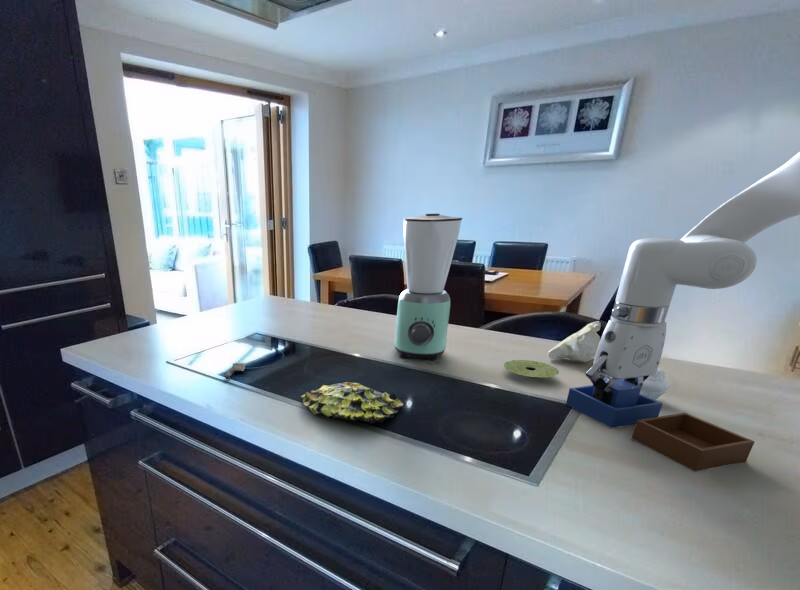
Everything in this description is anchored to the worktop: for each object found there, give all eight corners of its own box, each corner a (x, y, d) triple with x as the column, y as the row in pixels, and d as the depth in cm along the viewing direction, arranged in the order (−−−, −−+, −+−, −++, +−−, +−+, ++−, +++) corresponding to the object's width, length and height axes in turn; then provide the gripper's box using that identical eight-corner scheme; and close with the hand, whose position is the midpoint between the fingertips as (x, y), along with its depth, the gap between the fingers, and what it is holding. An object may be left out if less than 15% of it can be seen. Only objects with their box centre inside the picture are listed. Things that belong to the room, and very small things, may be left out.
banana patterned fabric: (282, 413, 88) (283, 381, 88) (328, 406, 101) (329, 377, 100) (371, 427, 76) (372, 389, 75) (411, 416, 88) (412, 384, 88)
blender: (446, 366, 108) (466, 214, 95) (391, 362, 112) (402, 215, 98) (443, 343, 125) (459, 211, 112) (395, 340, 129) (405, 212, 115)
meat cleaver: (253, 365, 112) (236, 364, 114) (253, 361, 112) (235, 359, 114) (231, 380, 102) (212, 379, 104) (231, 376, 102) (212, 374, 103)
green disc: (539, 389, 95) (541, 380, 94) (492, 373, 103) (493, 365, 103) (567, 377, 100) (569, 369, 99) (520, 363, 109) (521, 356, 108)
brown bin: (678, 430, 77) (684, 412, 76) (746, 461, 68) (755, 441, 66) (631, 438, 75) (637, 419, 74) (694, 471, 66) (702, 451, 64)
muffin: (630, 402, 88) (640, 369, 85) (622, 390, 93) (632, 359, 90) (668, 407, 85) (680, 373, 83) (658, 395, 91) (669, 363, 88)
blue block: (610, 401, 86) (616, 377, 84) (633, 412, 82) (641, 387, 80) (588, 404, 85) (595, 380, 83) (611, 415, 81) (619, 390, 79)
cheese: (569, 378, 105) (633, 340, 100) (550, 353, 106) (611, 314, 101) (554, 374, 119) (609, 341, 115) (537, 353, 120) (590, 319, 116)
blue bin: (607, 398, 90) (612, 382, 88) (656, 421, 80) (662, 403, 79) (565, 404, 88) (569, 387, 86) (611, 428, 78) (616, 410, 77)
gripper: (618, 322, 71) (590, 421, 78) (700, 314, 75) (666, 409, 82) (579, 312, 78) (557, 404, 85) (656, 304, 82) (629, 394, 89)
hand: (611, 406), depth 83 cm, fingers closed on blue block, 5 cm apart
